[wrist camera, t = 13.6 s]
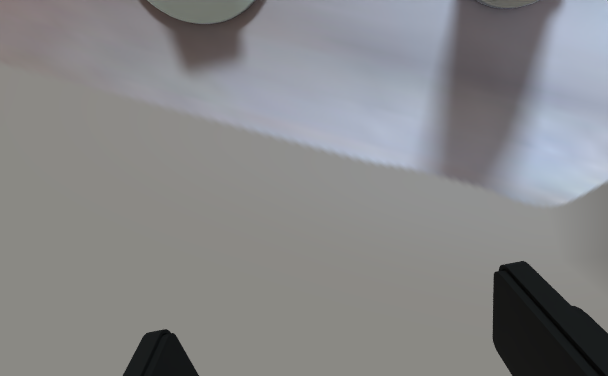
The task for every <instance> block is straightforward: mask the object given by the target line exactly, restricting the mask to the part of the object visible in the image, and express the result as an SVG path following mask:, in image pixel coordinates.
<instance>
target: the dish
mask: <svg viewBox="0 0 608 376" xmlns="http://www.w3.org/2000/svg"><path fill="white" fill-rule="evenodd" d="M147 1H148V2H150V3H151V4H152V5H153V6H155V7H156V8H158V9H159V10H160V11H162V12H164V13H166V14H167V15H169V16H171V17H174V18H176V19H179V20H182V21H186V22H190V23H197V24H215V23H220V22H224V21H227V20H230V19H232V18H234V17H236V16H238V15H240V14H241V13H242V12H244V11H245V10H246V9H248V8H249V7H250V6H251V5H252V4H253V3H254V1H255V0H147Z"/></svg>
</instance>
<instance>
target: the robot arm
mask: <svg viewBox="0 0 608 376" xmlns="http://www.w3.org/2000/svg"><path fill="white" fill-rule="evenodd" d="M477 1H478V2H480V3H482V4H483V5H487V6H490V7H493V8H503V9H509V8H517V7H522V6H526V5H530V4H533V3H535V2H537V1H539V0H477ZM493 342H494V345H495V348H496V350H497V352H498V354H499V355H500V357H501V358H502V360H503V361H504V363H505V365H506V366H507V368H508V369H509V371H510V372H511V374H512V376H608V333H607V332H606V331H605V330H604V329H603V328H601V327H600V326H599V325H598V324H597V323H596V322H595V321H594V320H593V319H592V318H591V317H590V316H589V315H588V314H587V313H585V312H584V311H583V310H582V309H580V308H578V307H576V306H571V305H570V304H569V303H568V302H567V301H566V300H564V298H563V297H562V296H561V295H560V294H559V293H558V292H557V291H556V290H555V289H553V288H552V287H551V286H550V285H549V284H548V283H547V282H546V281H545V280H544V279H543V278H542V277H541V276H540V275H539V274H538V273H537V272H536V271H535V270H534V269H533V268H532V267H531V266H530V265H529V264H527V263H526V262H524V261H521V262H515V263H510V264H505V265H501V266H500V268H499V271H498V272H495V273H494V293H493ZM123 376H199V375H198V374H197V372H196V370H195V368H194V366H193V365H192V363H191V361H190V360H189V358H188V356H187V354H186V352H185V351H184V349H183V347H182V345H181V344H180V342H179V340H178V338H177V337H176V335H175V334H174V333H170V331H168V330H167V329H165V330H159V331H154V332H149V333H146V334H145V335H144V336H143V338H142V340H141V342H140V344H139V346H138V348H137V350H136V351H135V353H134V355H133V357H132V359H131V361H130V363H129V365H128V367H127V369H126V371H125V373H124V374H123Z"/></svg>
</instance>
